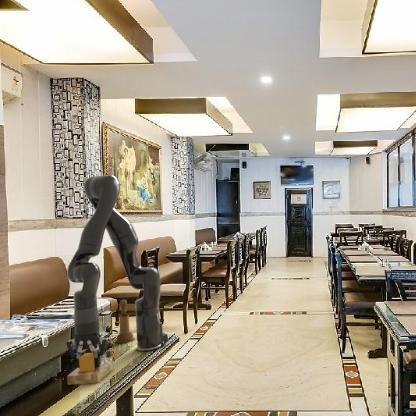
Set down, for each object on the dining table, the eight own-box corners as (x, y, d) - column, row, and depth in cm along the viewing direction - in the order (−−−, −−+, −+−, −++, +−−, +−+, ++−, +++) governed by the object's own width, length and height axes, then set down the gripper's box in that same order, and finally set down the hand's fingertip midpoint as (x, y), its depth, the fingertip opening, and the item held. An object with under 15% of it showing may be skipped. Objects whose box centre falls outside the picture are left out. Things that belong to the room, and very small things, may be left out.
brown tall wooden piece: (122, 343, 184) (120, 302, 183) (113, 341, 187) (111, 300, 187) (136, 339, 189) (134, 298, 189) (127, 337, 193) (125, 297, 192)
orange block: (85, 367, 151) (85, 353, 151) (99, 366, 151) (98, 352, 151) (79, 372, 146) (78, 357, 146) (93, 371, 146) (92, 357, 146)
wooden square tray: (110, 370, 154) (110, 362, 154) (98, 382, 144) (97, 374, 144) (82, 372, 153) (81, 364, 153) (67, 384, 143) (67, 376, 143)
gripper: (112, 315, 152) (114, 363, 153) (71, 317, 152) (73, 365, 152) (102, 321, 145) (105, 371, 145) (59, 324, 144) (62, 374, 145)
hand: (89, 368), depth 149 cm, fingers closed on orange block, 4 cm apart
